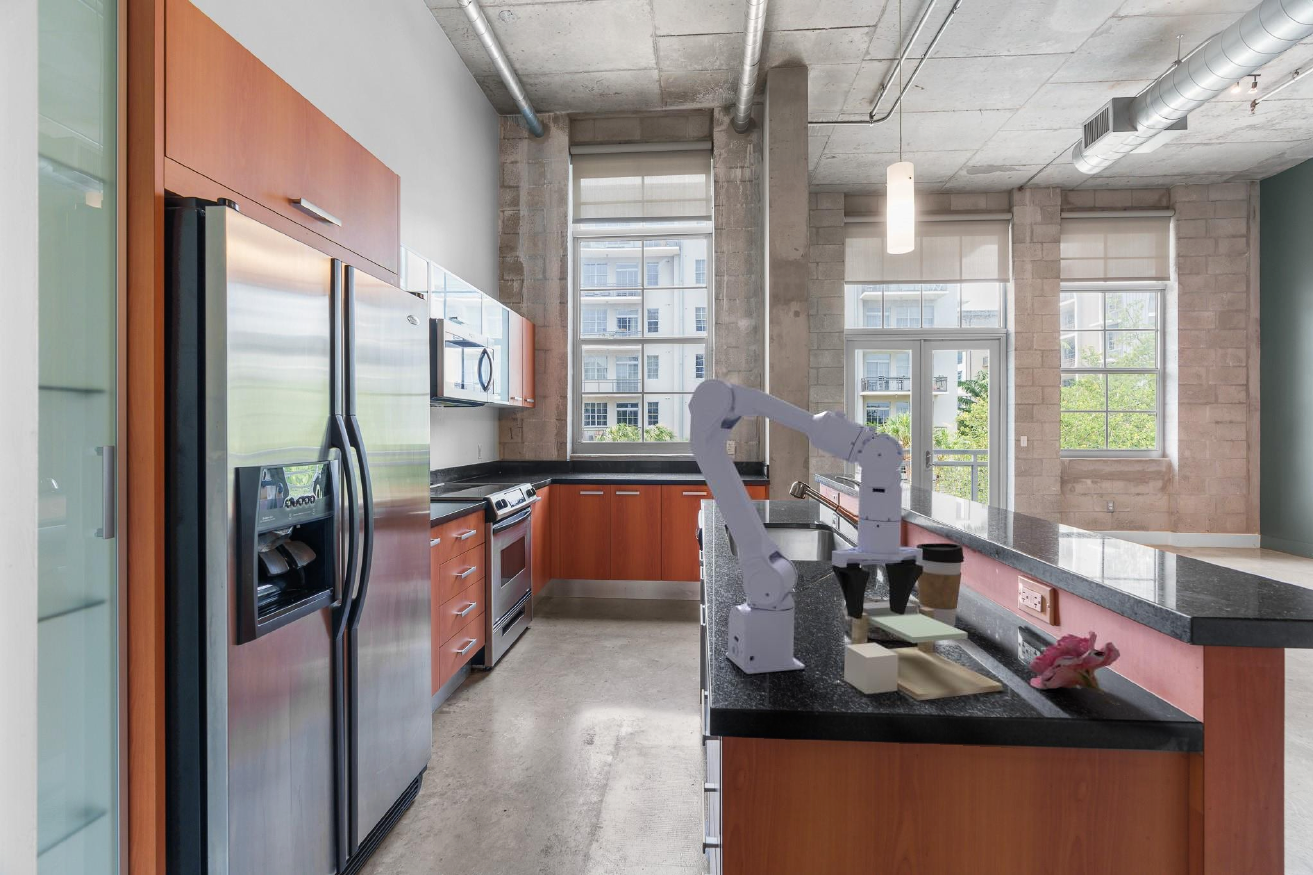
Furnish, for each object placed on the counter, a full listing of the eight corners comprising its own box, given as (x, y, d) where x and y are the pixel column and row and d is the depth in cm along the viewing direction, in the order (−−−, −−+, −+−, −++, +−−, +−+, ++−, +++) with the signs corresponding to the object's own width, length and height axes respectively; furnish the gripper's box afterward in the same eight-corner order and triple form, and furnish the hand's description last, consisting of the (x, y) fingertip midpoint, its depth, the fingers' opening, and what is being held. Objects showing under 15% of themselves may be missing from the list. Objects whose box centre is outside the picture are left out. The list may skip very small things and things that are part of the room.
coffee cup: (968, 632, 112) (971, 549, 112) (919, 629, 113) (921, 547, 113) (954, 619, 120) (956, 542, 120) (908, 616, 121) (910, 539, 121)
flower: (1020, 708, 88) (1007, 638, 94) (1094, 719, 87) (1077, 647, 93) (1062, 689, 79) (1045, 612, 84) (1145, 700, 78) (1123, 622, 83)
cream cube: (865, 694, 83) (866, 657, 83) (844, 680, 88) (845, 645, 88) (897, 691, 85) (898, 654, 85) (874, 677, 90) (874, 642, 90)
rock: (838, 640, 106) (934, 655, 101) (840, 603, 106) (936, 616, 101) (841, 618, 118) (927, 631, 113) (843, 585, 118) (929, 596, 113)
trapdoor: (912, 650, 86) (913, 629, 86) (854, 622, 99) (854, 603, 99) (967, 645, 89) (967, 625, 89) (903, 618, 102) (903, 600, 102)
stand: (918, 700, 82) (919, 643, 82) (846, 658, 97) (847, 610, 97) (1001, 690, 86) (1003, 636, 86) (920, 651, 101) (921, 605, 101)
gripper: (857, 524, 81) (854, 627, 81) (940, 521, 87) (937, 618, 87) (823, 517, 88) (820, 612, 88) (902, 515, 93) (900, 605, 93)
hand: (876, 614), depth 88 cm, fingers open, 7 cm apart
